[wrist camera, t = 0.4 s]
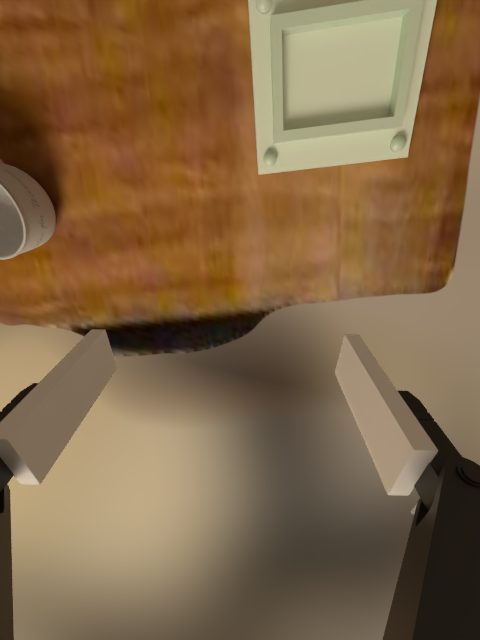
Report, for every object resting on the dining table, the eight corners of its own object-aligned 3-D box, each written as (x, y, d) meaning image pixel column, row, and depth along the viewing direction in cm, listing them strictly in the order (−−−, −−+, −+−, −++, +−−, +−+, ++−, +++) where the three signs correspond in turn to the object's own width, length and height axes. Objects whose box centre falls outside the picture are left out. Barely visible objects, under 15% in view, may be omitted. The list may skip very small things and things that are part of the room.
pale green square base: (247, -11, 25) (247, -30, 23) (438, -44, 24) (459, -67, 22) (258, 174, 33) (258, 174, 31) (402, 157, 32) (414, 156, 29)
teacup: (72, 251, 39) (34, 268, 32) (-3, 236, 38) (-59, 251, 31) (57, 142, 32) (4, 133, 25) (-35, 121, 31) (-116, 106, 24)
